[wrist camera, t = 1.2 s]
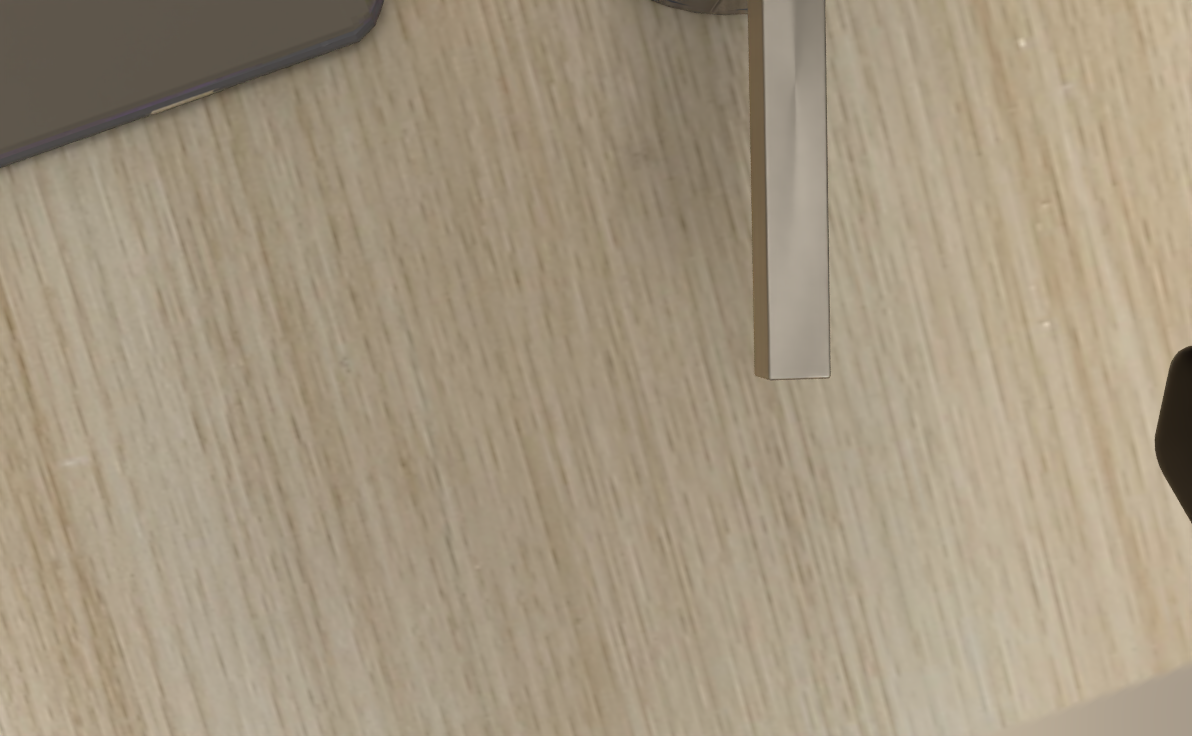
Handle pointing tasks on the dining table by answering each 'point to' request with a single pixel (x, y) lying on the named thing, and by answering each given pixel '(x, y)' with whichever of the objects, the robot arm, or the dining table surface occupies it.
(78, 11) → the smartphone
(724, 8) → the bowl
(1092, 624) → the dining table surface
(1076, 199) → the dining table surface
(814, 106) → the scoop
